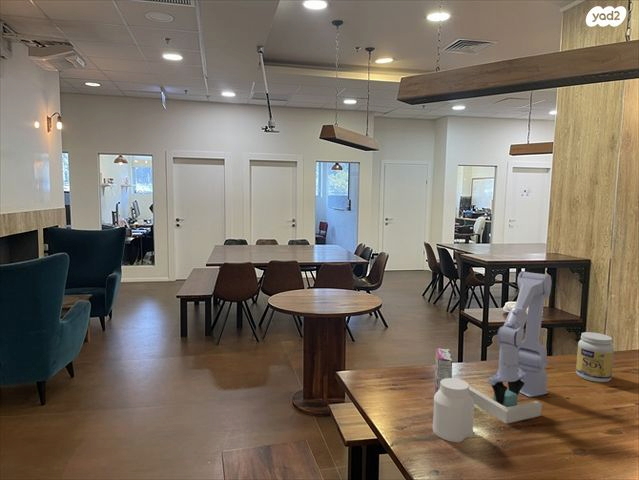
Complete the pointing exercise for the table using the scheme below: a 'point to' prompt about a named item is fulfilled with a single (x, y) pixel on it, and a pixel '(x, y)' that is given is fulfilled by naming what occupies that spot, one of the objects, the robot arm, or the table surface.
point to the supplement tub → (595, 357)
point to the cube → (508, 399)
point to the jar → (453, 410)
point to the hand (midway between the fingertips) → (506, 402)
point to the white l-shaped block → (506, 408)
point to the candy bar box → (442, 366)
